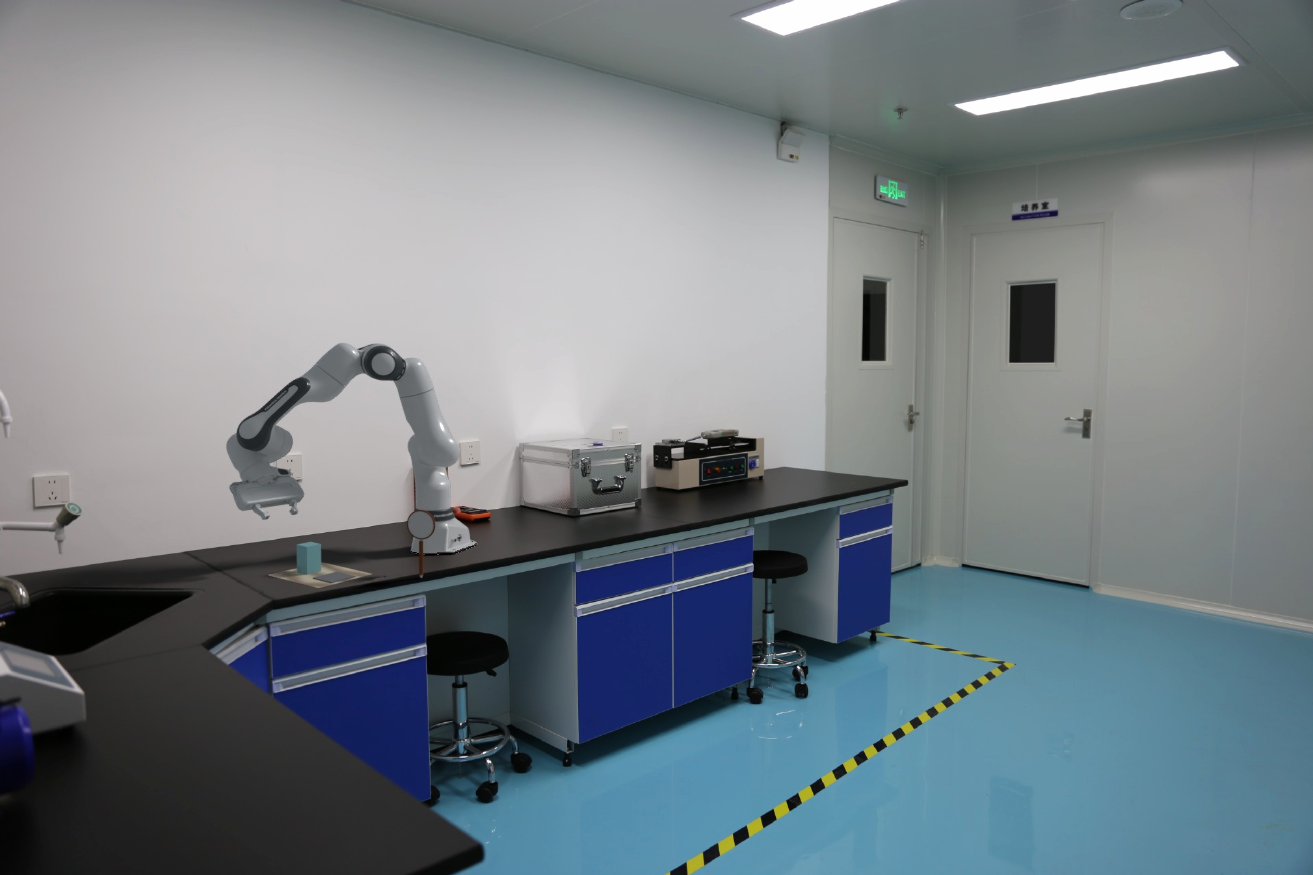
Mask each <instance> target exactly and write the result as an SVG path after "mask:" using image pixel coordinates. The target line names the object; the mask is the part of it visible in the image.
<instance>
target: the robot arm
mask: <svg viewBox="0 0 1313 875" xmlns="http://www.w3.org/2000/svg"><path fill="white" fill-rule="evenodd" d="M363 374H364V375H367V376H368V377H369V378H371V379H375V380H378V381H383V382H385V381H389V382H391V381H392V382H393V384H394V385H395V387H396V389H397V393H398V397H399V400H400V403H401V407H402V410H403V413H404V414H403V415H404V417H405V420H406V422H407V423H408V424H409V426H410V427H411V430H412V432H413V433H414V434H413V435H411V437H409V439H408V442H407V451H408V454H409V456H410V460H411V467H412V471H413V477H414V482H415V484H414V485H415V507H414V510H413V512H414V511H416V510H425V511H427V512H429V513H430V514H431V515H432V516H433V518H434V520H435V531H434V533H433V534H432V535H431V536H430V537H429V538H427V539H422V541H423V553H437V552H455V551H457V550H460V549H462V548H466V547H468V546H472V545H474V544H475V543H477V541H475V540H472V539H471V537H470V535H471V534H470V529H469V527H468V526H466V525H465V524H464V523H462V522H461V521H460V520H458V519H457V518H456V516H455V514H460V512H461V508H460V507H456V506H453V507H452V506H451V502H452V501H451V498H452V496H451V495H452V494H451V493H452V492H451V491H452V490H451V481H450V480H449V476H448V473H447V468H449V467H452V466H453V465H455V464H456V463H457V462H458V461H459V459H460V454H461V449H460V445H459V444H458V442H457V441H456V440H455V438H454V437H453V434H452V432H451V430H450V428H449V425H448V423H447V422H446V420H445V417H444V415H443V414H442V413H443V412H442V410H441V407H440V404H439V400H438V398H437V394H436V390H435V388H434V387H435V386H434V384H433V382H432V381H433V380H432V377H431V376H430V373H429V371H428V369H427V367H426V366H425V363H424V362H423V360H421V359H420V358H416V357H406V358H403V357H401V355H400V354H399V353H398V352H397V351H396V350H394V349H393V348H391V346H389V345H387V344H385V343H371V344H367V345H364V346H362V347H359V348H356V347H355V346H353V345H352V344H350V343H348V342H346V343H345V342H339V343H337V344H335V345H334V346H333V347H332V348H330V349H329V350H328V351H327V352H326V353H325V354H323V355H322V356H321V357H320V358H319V359H317V361H316V362H315V363H314V365H312V367H311V368H310V369H309V370H307V371H306V372H305V373H304V374H303V375H301V376H299V377H296V378H294V379H293V380H291V381H290V382H288V383H287V384H286V385H285V386H284V387H283V388H282V389H280V391H278V392H277V393H276V394H275V395H274V396H273V397H271V399H269V400H268V401H267V402H266V403H265V404H264V405H262V407H260V408H259V409H258V410H257V411H255V412H253V413H252V414H250V415H248V416H246V417H244V419H243V420H241V422H240V423H239V424H238V426H237V429H236V432H235V433H234V434H232V435H231V436H230V437H229V438H228V439H227V441H226V444H225V445H226V447H225V448H226V453H227V455H228V457H229V460H230V461H231V464H232V466H233V467H234V469H235V470H236V471H237V472H238V474H239V477H240V479H241V481H234V482H231V483H230V485H229V487H228V488H229V491H230V493H232V497H233V500H234V503H235V505H236V507H237V509H238V510H240V511H242V512H245V511H253V513H254V514H256V515H258V516H259V517H260V518H261V520H262V521H265V520H268V519H269V518H270V517H271V516H270V514H269V511H265V510H264V509H266V508H271V507H272V508H273V507H278V506H279V507H280V506H285V505H288V506H289V507H291V508H290V509H289V511H288V512H289V514H290V515H291V516H295V515H298V514H299V509H298V508H297V504H299V503H300V502H301V501H302V500H303V499H304V498H305V497H304V496H305V492H304V490H303V488H302V485H301V484H300V483H299V482H298V480H297V479H296V478H294V477H293V476H292V472H291V470H290V469H287V468H282V467H281V468H280V467H276V466H272V465H271V464H272V463H275V462H277V461H279V460H281V459H282V458H284V457H286V456H287V455H288V454H290V452H291V450H292V449H293V444H294V441H293V439H294V438H293V436H292V434H291V433H290V431H288V430H286V429H284V428H283V427H282V426H279V425H277V424H278V423H279V422H280V421H281V420H283V418H285V417H286V416H287V415H288V414H289V413H290V412H291V411H292V410H293V409H294V408H296V407H297V406H299V405H301V404H305V403H326V402H331V401H333V400H334V399H335V398H336V397H338V396H339V395H340V394H341V393H342V392H343V390H344V389H345V388H346V387H347V386H348V385H349V384H350V382H351V381H352V380H353V379H355V378H356V377H357V376H359V375H363ZM412 537H413V536H412ZM419 541H420V539H417V538H415V537H413V538H412V543H411V548H410V552H411V551H412V552H411V553H413V552H417V553H419ZM472 541H473V542H472ZM477 544H478V543H477ZM417 553H416V554H417Z"/></svg>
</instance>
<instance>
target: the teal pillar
mask: <svg viewBox="0 0 1313 875" xmlns="http://www.w3.org/2000/svg"><path fill="white" fill-rule="evenodd" d="M321 563H322V544H321V543H318V542H313V541H308V542H303V543H298V544H297V543H296V568H297V572H298V573H302V574H307V575H308V574H312V573H316V572H320V571H321Z"/></svg>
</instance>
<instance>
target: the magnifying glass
mask: <svg viewBox="0 0 1313 875" xmlns="http://www.w3.org/2000/svg"><path fill="white" fill-rule="evenodd" d="M406 529H407V530H408V532H409V534H410V536H412V537H415V538H417V539H420V541H419V554H418V575H419V578H420V579H422V578H423V576H424V554H423V541H422V539H427V538H429V537H430V536H431V535H432V534H433V533H434V531H435V520H434V518H433V516H432V515H431V514H430V513H429V512H427V511H425V510H416V511H414V510H413V512H411V513H410V514H409V516H407V520H406Z"/></svg>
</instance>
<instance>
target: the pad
mask: <svg viewBox="0 0 1313 875" xmlns="http://www.w3.org/2000/svg"><path fill="white" fill-rule="evenodd" d="M354 577H356V576H353V575H349V574H345V573H341V572H333V573H329V574H325V575H321V576H317V577H313V579H316V580H320V581H324V582H328V583H335V582H339V581H343V580H347V579H350V578H354Z"/></svg>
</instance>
